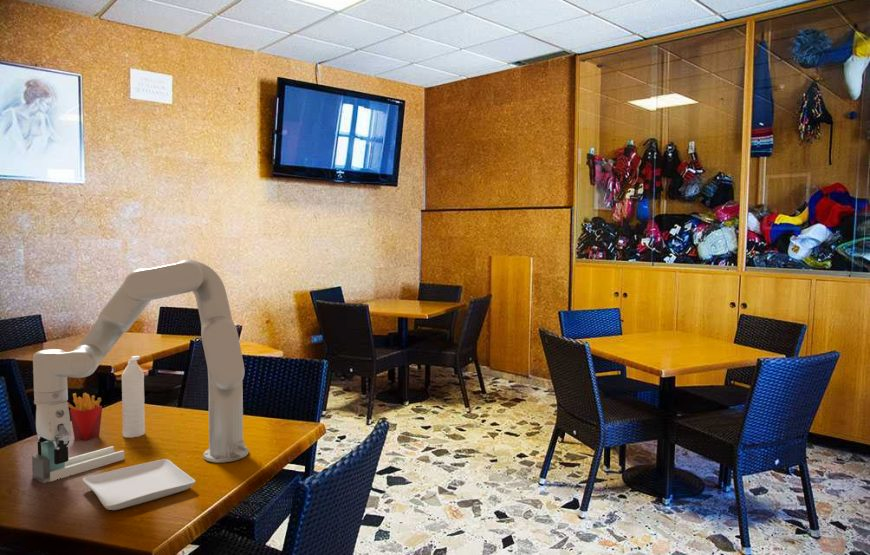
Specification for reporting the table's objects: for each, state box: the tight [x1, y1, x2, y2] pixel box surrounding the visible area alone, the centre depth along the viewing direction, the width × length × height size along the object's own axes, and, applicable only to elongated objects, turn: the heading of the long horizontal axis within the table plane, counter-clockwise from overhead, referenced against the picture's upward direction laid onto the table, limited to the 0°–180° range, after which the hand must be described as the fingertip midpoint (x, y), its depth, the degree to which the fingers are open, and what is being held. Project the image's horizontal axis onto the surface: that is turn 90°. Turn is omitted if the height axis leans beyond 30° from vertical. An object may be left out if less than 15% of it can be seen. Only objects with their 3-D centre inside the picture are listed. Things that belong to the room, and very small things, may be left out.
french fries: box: [67, 392, 103, 442], centre depth 186 cm, size 9×8×15 cm
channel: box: [31, 445, 125, 485], centre depth 163 cm, size 7×21×6 cm, turn 146°
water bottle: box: [121, 355, 146, 439], centre depth 191 cm, size 9×6×25 cm
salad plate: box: [82, 458, 196, 511], centre depth 150 cm, size 21×21×3 cm
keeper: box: [41, 440, 65, 471], centre depth 157 cm, size 4×4×8 cm
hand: (53, 458), depth 157 cm, fingers open, 9 cm apart
